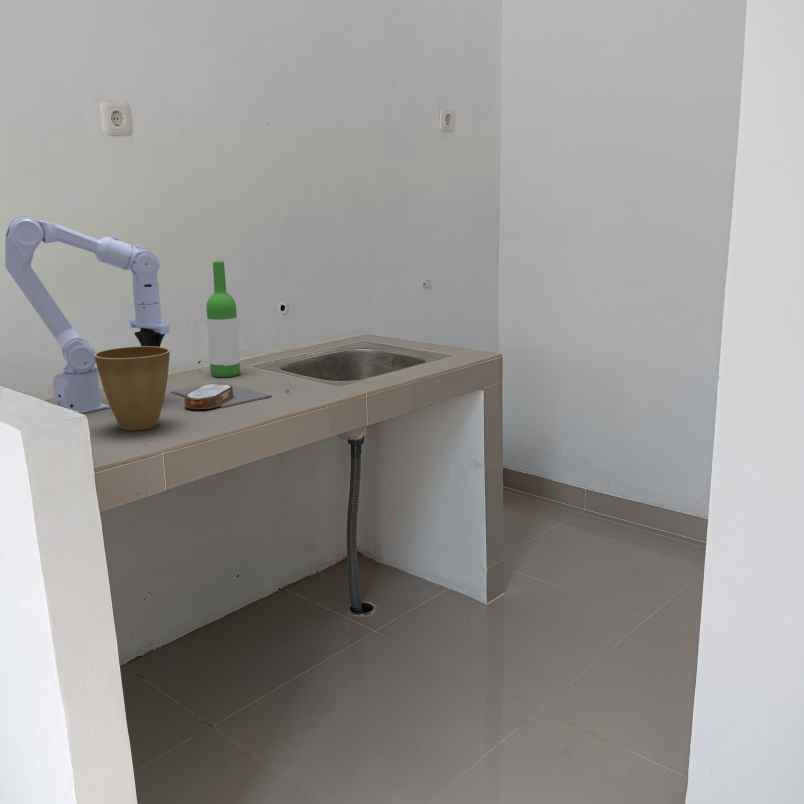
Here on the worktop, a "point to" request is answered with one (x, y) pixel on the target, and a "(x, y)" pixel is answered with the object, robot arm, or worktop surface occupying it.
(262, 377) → the worktop surface
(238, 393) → the mat
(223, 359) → the wine bottle
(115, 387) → the plant pot
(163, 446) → the worktop surface
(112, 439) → the worktop surface
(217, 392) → the tin
